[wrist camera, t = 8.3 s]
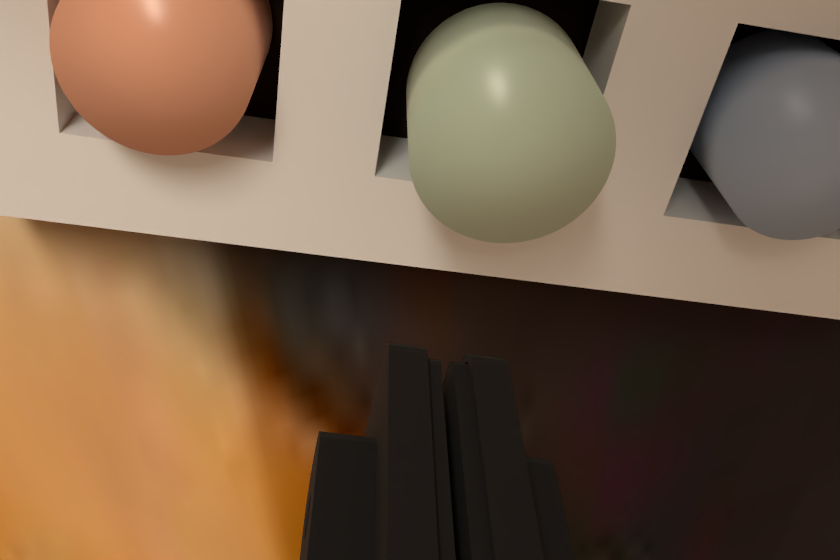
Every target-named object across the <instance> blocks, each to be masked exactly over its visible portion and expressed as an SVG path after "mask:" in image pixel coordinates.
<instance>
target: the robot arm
mask: <svg viewBox="0 0 840 560" xmlns="http://www.w3.org/2000/svg"><path fill="white" fill-rule="evenodd" d="M300 560H575V559H574V554H573V550H572V545H571V541H570V536H569V532H568V527H567V523H566V518H565V513H564V509H563V504H562V500H561V495H560V491H559V486H558V482H557V477H556V473H555V470H554V467H553V464H552V463H551V462H550V461H549V460H548V459H540V458H532V457H525V452H524V447H523V441H522V436H521V430H520V425H519V419H518V414H517V408H516V403H515V397H514V392H513V387H512V381H511V376H510V370H509V365H508V362H507V360H506V359H502V358H495V357H488V356H481V355H474V354H466V355H465V357H464V359H463V362H462V363H456V362H450V364H449V366H448V369H447V372H446V375H445V379H444V382H443V385H442V372H441V362H440V360H434V359H428V354H427V349H426V348H424V347H416V346H409V345H402V344H395V343H386V346H385V349H384V353H383V358H382V362H381V366H380V371H379V375H378V380H377V384H376V388H375V393H374V397H373V402H372V406H371V410H370V415H369V419H368V423H367V428H366V432H365V437H361V436H353V435H345V434H337V433H329V432H321V431H319V434H318V438H317V443H316V449H315V454H314V460H313V465H312V471H311V477H310V484H309V490H308V497H307V504H306V511H305V519H304V527H303V536H302V545H301V554H300Z"/></svg>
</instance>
